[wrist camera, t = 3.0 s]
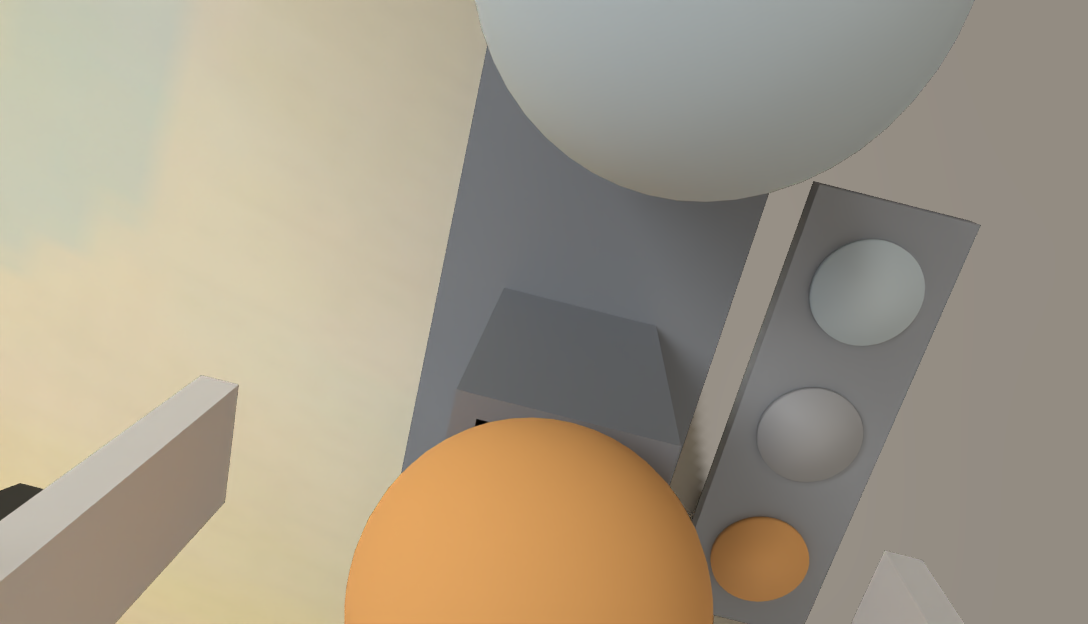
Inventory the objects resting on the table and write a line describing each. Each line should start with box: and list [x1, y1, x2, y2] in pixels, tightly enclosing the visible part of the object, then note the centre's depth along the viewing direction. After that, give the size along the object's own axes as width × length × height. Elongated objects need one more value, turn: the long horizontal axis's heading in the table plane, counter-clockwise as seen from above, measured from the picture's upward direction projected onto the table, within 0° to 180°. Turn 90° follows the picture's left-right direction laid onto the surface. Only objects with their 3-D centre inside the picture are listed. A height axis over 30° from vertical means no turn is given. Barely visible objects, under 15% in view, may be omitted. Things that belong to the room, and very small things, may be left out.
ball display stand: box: [401, 45, 769, 485], centre depth 18 cm, size 30×8×8 cm, turn 167°
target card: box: [692, 182, 981, 624], centre depth 22 cm, size 14×4×1 cm, turn 167°
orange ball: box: [345, 418, 713, 624], centre depth 12 cm, size 6×6×6 cm
